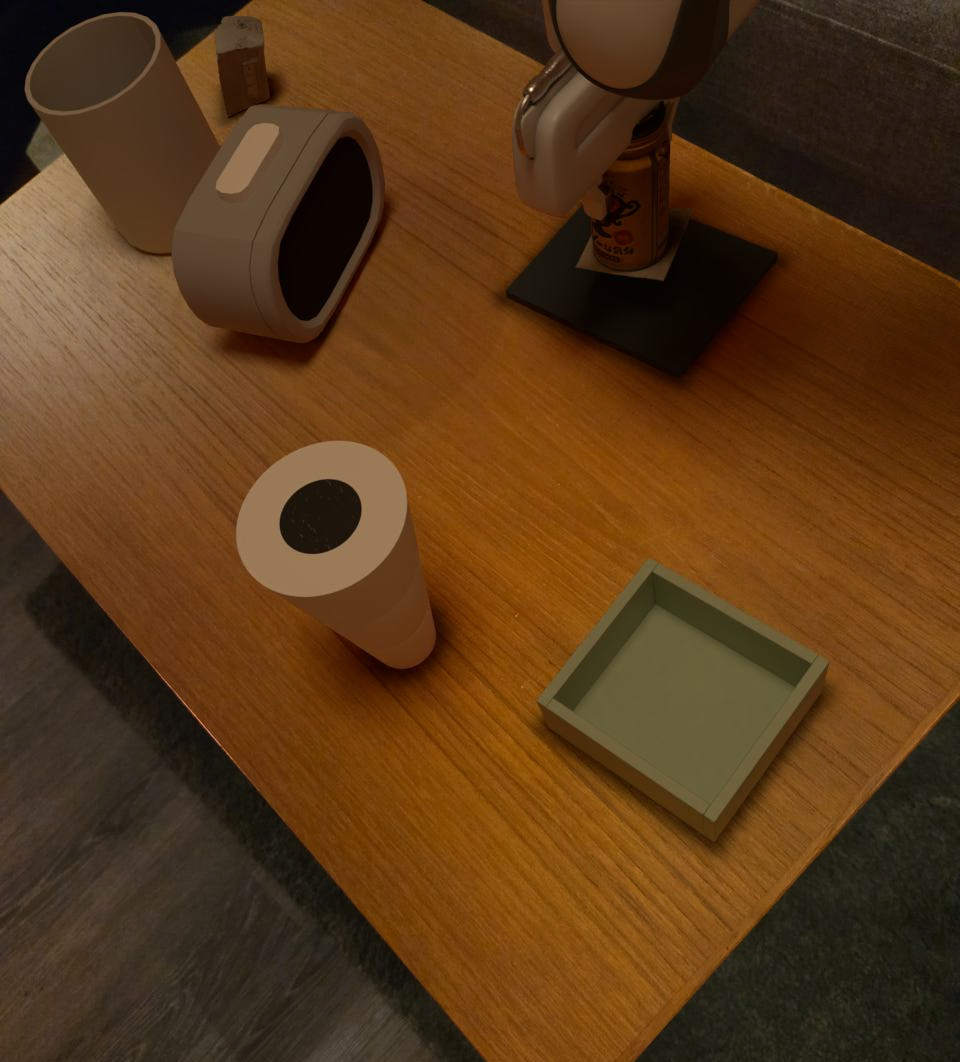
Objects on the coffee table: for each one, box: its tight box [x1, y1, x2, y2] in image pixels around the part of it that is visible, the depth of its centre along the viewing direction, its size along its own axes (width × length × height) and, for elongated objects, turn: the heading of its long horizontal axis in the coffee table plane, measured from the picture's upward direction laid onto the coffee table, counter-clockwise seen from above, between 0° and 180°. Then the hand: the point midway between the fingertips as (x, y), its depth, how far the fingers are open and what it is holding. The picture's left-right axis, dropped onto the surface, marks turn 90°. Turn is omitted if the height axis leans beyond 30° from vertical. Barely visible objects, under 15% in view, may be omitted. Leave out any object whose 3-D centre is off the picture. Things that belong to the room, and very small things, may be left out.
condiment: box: [576, 101, 695, 281], centre depth 74 cm, size 7×8×12 cm
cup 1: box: [24, 11, 222, 255], centre depth 94 cm, size 13×18×16 cm
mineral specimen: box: [213, 15, 271, 117], centre depth 101 cm, size 7×9×8 cm
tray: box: [536, 557, 831, 843], centre depth 65 cm, size 14×13×5 cm
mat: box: [505, 203, 779, 380], centre depth 83 cm, size 18×14×1 cm
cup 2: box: [235, 440, 437, 670], centre depth 66 cm, size 11×11×18 cm
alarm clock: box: [171, 103, 386, 344], centre depth 86 cm, size 21×10×13 cm, turn 158°
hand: (629, 178), depth 74 cm, fingers closed on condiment, 6 cm apart
